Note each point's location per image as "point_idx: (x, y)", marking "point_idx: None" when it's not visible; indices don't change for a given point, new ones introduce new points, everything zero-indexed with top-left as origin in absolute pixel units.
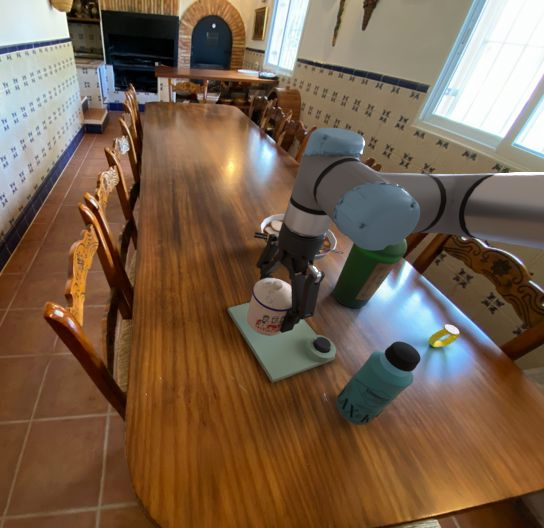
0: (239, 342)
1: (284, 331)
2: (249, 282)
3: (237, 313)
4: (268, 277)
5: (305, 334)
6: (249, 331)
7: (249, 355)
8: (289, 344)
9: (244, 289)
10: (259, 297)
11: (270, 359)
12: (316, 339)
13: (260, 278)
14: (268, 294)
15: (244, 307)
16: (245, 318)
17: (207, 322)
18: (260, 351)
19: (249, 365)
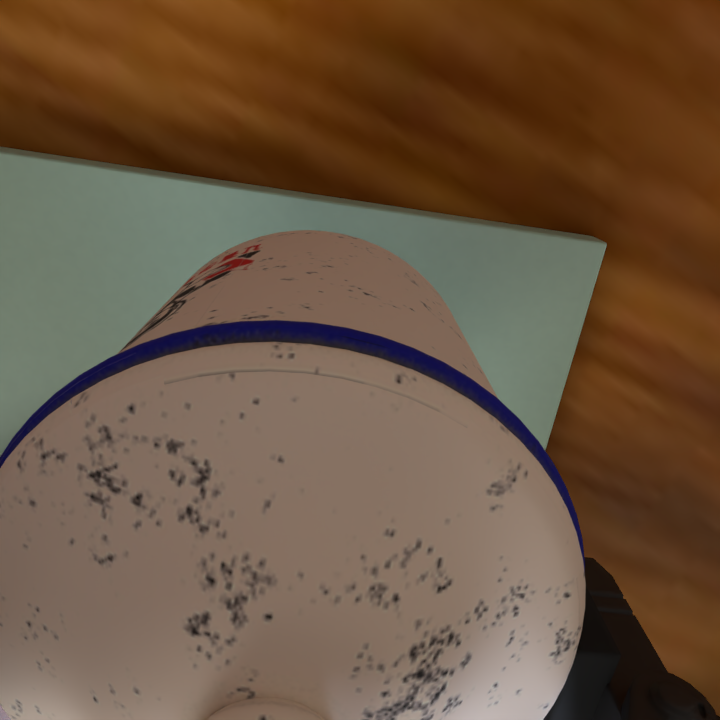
0: (322, 143)
1: None
2: (695, 527)
3: (524, 275)
4: (560, 716)
5: None
6: None
7: (201, 140)
8: None
9: (670, 463)
10: (278, 378)
11: (88, 233)
12: None
13: (626, 622)
14: (222, 533)
15: (538, 356)
16: (455, 299)
17: (597, 18)
18: (170, 213)
19: (132, 85)
